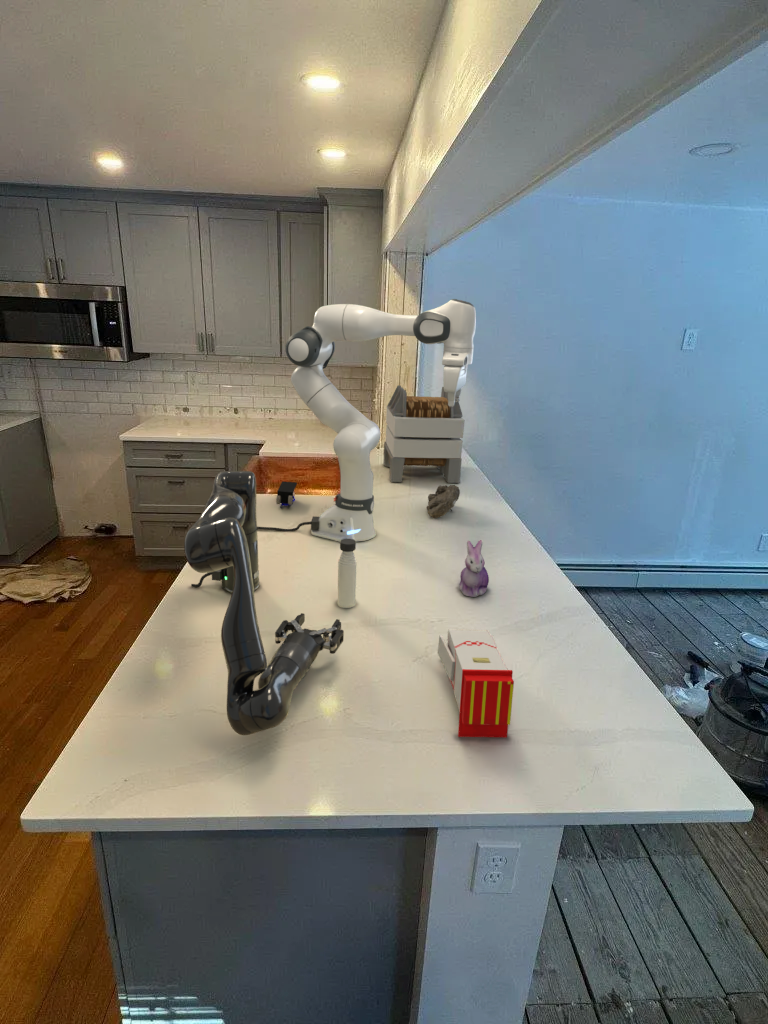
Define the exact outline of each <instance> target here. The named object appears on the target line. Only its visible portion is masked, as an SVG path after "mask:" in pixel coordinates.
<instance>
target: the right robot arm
mask: <svg viewBox="0 0 768 1024" xmlns="http://www.w3.org/2000/svg"><path fill="white" fill-rule="evenodd" d="M476 325H477V312H476V307H475V306H474V305H473V304H472V302H469V301H466V300H461V299H457V298H452V299H450V300H449V301H447V302H446V303H444V304H442V305H439V306H438V307H436V308H432V309H429V310H428V309H427V310H425V311H423V312H421V313H419V314H417V315H415V314H396V313H391V312H386V311H383V310H380V309H376V308H374V307H373V308H372V307H369V306H366V305H361V304H355V303H353V304H352V303H337V304H328V305H322V306H320V307H318V308H317V309H316V311H315V313H314V316H313V324H312V326H309V325H306V326H305V327H303V328H301V329H299V330H298V331H295V333H293V334H292V335H291V336H290V337H289V338H288V339H287V340H286V343H285V354H286V357H287V359H289V360H288V361H290V362H291V363H292V364H294V365H296V366H297V367H295V369H294V370H293V371H292V373H291V375H290V383H291V384H292V386H293V388H294V390H295V392H296V393H297V395H298V396H299V397H300V399H301V400H302V401H303V403H304V404H305V405H306V407H307V408H308V409H309V410H310V412H312V413H313V415H314V416H315V417H316V418H317V419H318V421H319V422H320V423H321V424H323V425H324V426H326V427H328V428H330V429H331V430H332V431H334V432H335V433H336V436H335V438H334V439H333V443H332V446H333V448H332V449H333V451H334V454H335V455H336V457H337V462H338V466H339V473H340V488H339V489H340V490H339V491H338V492H337V494H336V495H335V496H334V497H333V502H334V504H333V505H331V506H329V507H328V508H326V509H325V510H323V512H321V514H320V515H319V516H317V515H315V516H314V515H313V516H312V518H311V521H304V522H303V521H302V522H300V523H298V525H297V526H296V527H294V528H281V527H272V526H257V530H262V531H276V532H295V531H296V532H297V531H298V530H299V529H300V528H301V527H303V526H307V525H310V533H311V536H315V537H319V538H323V539H326V540H330V541H336V542H339V543H340V541H341V540H342V539H353V540H355V541H356V543H357V542H365V541H368V540H372V539H373V538H375V537H376V535H377V532H376V528H375V523H374V513H373V512H374V509H375V496H374V472H373V470H372V466H371V465H372V464H371V460H370V459H371V457H370V455H371V452H372V451H373V450H374V449H376V448H377V446H378V445H379V442H380V440H381V436H382V435H381V429H380V427H379V425H378V424H377V423H376V422H375V421H373V420H371V419H369V418H368V417H366V415H364V414H363V413H362V412H361V411H359V410H358V409H357V408H356V407H355V406H353V405H352V403H350V402H349V400H347V399H346V398H345V397H344V396H343V394H342V393H341V392H340V391H339V389H338V388H337V387H336V386H335V385H334V384H333V382H332V381H331V380H330V379H329V378H328V377H327V376H326V374H325V372H324V369H326V368H327V366H328V365H329V362H330V360H331V359H332V357H333V355H334V352H335V350H336V343H335V342H349V343H351V342H353V343H357V342H366V341H371V340H377V339H379V338H384V337H390V336H405V337H406V336H407V337H415V338H416V339H417V341H418V342H420V343H422V344H425V345H437V344H439V345H440V344H443V351H442V352H443V354H442V359H441V365H442V366H443V377H442V378H443V383H442V384H443V387H444V391H445V392H448V406H452V407H453V406H454V405H455V402H459V403H460V398H461V393H462V390H463V389H462V388H464V387H465V386H466V383H467V372H468V365H469V366H470V365H473V358H474V347H475V345H474V337H475V334H476V327H477V326H476Z"/></svg>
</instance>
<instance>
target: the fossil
mask: <svg viewBox="0 0 768 1024" xmlns="http://www.w3.org/2000/svg"><path fill="white" fill-rule="evenodd" d="M459 487H460V486H457V485H456V484H450V485H447V484H445V485H438V486H437V488H436V491H435V492H434V493H430V494H428V495H427V505H426V510H427V514H428V515H429V517H430V518H432V519H438V518H441V517H444V516H445V515H446V514H447V513H449V512H450V511H451V512H452V511H453V510H452V509H453V508H454V506H455V504H456V503H457V502H458V500H459V498H460V494H461V490H460V488H459Z"/></svg>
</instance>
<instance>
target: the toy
mask: <svg viewBox="0 0 768 1024" xmlns="http://www.w3.org/2000/svg"><path fill="white" fill-rule="evenodd" d="M446 640H447V643H446V641H445V639H444V636H443V635H442V634H439V637H438V646H437V656H438V657H439V659H440V661H441V663H442V666H443V668H444V670H445V672H446V674H447V677H448V679H449V681H450V684H451V687H452V690H453V693H454V697H455V701H456V705H457V708H458V711H459V714H458V715H459V716H458V730H457V731H458V732H457V737H458V738H508V731H509V726H510V725H511V717H512V707H513V697H514V696H513V695H514V684H515V680H514V679H513V673H514V671H513V670H512V669H508V667H507V665H506V662H505V661H504V659H503V658H502V655H501V653H500V651H499V649H498V647H497V643H496V639H495V637H494V635H493V634H491V632H490V631H489V629H467V628H466V629H465V628H463V629H461V628H460V629H459V628H448V630H447V639H446Z"/></svg>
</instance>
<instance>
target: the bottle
mask: <svg viewBox="0 0 768 1024" xmlns="http://www.w3.org/2000/svg"><path fill="white" fill-rule="evenodd" d="M357 563H358V562H357V559H356V556H355V553H354V551H351V552H345V551H342V550H341V554H340V556H339V559H338V563H337V606H338V607H340V608H343V609H350V608H353V607H355V606H356V600H357V599H356V594H357Z"/></svg>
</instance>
